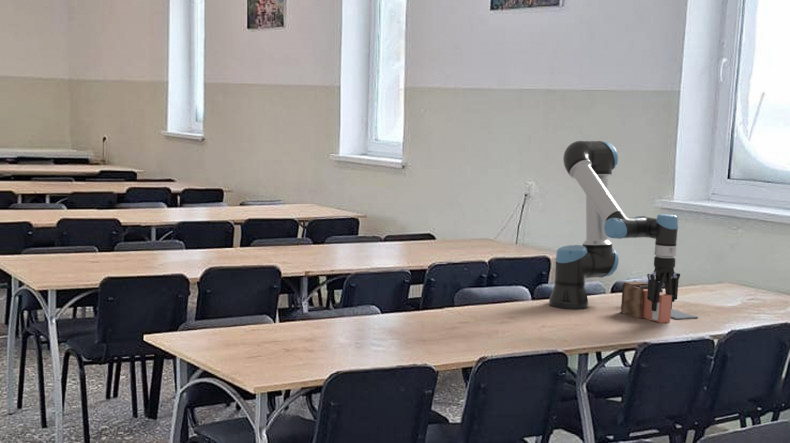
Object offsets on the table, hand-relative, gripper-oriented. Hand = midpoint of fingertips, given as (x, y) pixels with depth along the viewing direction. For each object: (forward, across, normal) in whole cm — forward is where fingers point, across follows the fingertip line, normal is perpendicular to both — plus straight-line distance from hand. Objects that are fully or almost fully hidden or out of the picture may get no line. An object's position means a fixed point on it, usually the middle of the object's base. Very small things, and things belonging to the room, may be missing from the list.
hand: (660, 319), depth 362 cm
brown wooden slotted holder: (+1, 0, +13) cm, 13 cm away
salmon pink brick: (+1, 0, +4) cm, 4 cm away
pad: (+1, +13, +8) cm, 15 cm away
